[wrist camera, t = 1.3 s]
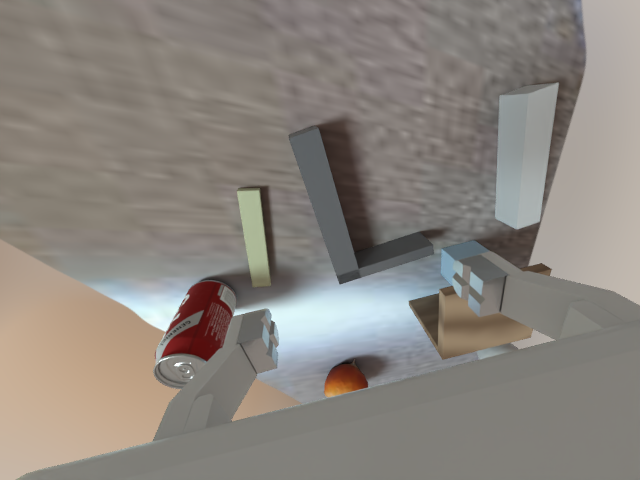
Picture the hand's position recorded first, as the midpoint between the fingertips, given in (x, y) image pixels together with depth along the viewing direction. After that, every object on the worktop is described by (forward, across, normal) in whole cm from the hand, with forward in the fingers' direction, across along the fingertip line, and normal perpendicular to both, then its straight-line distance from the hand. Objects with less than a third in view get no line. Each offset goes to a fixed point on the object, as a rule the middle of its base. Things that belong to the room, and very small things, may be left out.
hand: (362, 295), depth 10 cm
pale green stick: (+22, +10, +6) cm, 24 cm away
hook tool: (+21, -5, +3) cm, 22 cm away
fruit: (+23, +3, +38) cm, 44 cm away
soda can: (+22, +18, +13) cm, 31 cm away
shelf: (+22, -16, +19) cm, 33 cm away
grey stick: (+22, -24, +4) cm, 33 cm away
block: (+22, -18, +17) cm, 33 cm away
